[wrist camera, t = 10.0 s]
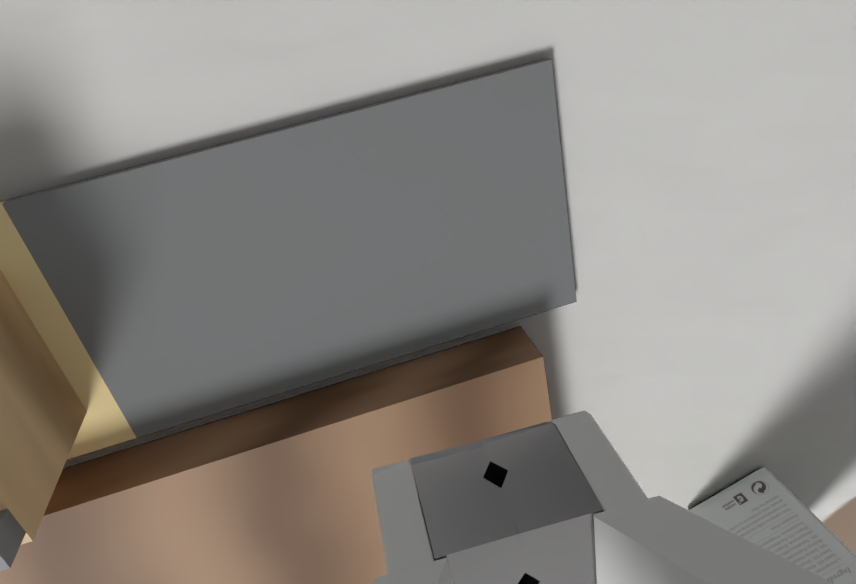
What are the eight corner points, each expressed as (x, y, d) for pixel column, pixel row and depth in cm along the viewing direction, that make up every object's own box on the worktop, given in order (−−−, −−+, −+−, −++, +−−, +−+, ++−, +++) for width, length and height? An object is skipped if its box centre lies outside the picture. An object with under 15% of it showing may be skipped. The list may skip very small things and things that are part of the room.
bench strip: (547, 58, 18) (551, 59, 17) (572, 297, 21) (576, 301, 21) (-330, 289, 15) (-341, 294, 15) (-124, 513, 19) (-130, 520, 19)
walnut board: (520, 326, 21) (543, 356, 20) (553, 537, 27) (573, 576, 25) (-15, 493, 19) (-42, 543, 18) (135, 685, 25) (125, 738, 23)
